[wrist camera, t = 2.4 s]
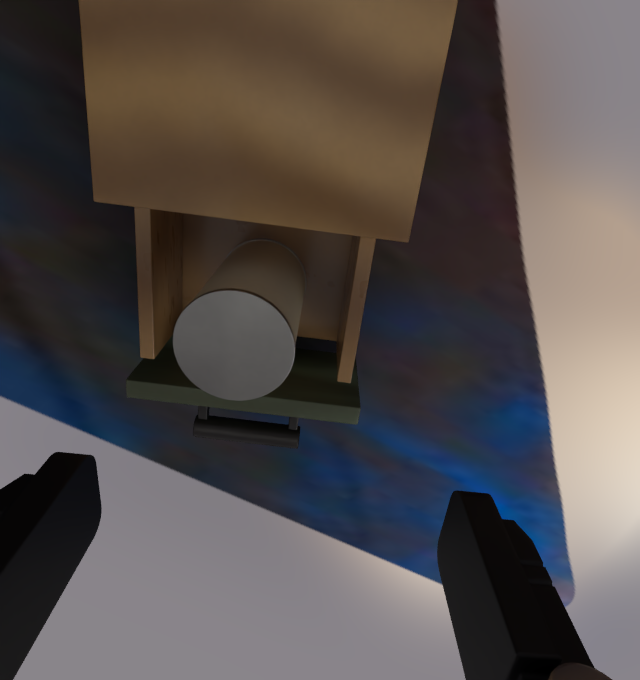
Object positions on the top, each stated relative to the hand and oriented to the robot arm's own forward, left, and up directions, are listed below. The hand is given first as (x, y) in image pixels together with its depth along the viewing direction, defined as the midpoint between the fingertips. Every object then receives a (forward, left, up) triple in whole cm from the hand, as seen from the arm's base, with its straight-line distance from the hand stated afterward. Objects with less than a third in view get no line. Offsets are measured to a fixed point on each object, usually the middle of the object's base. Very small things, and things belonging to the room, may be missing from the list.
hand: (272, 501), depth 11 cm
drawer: (-3, -4, -22) cm, 22 cm away
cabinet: (-3, +10, -23) cm, 25 cm away
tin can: (-3, -2, -21) cm, 21 cm away
